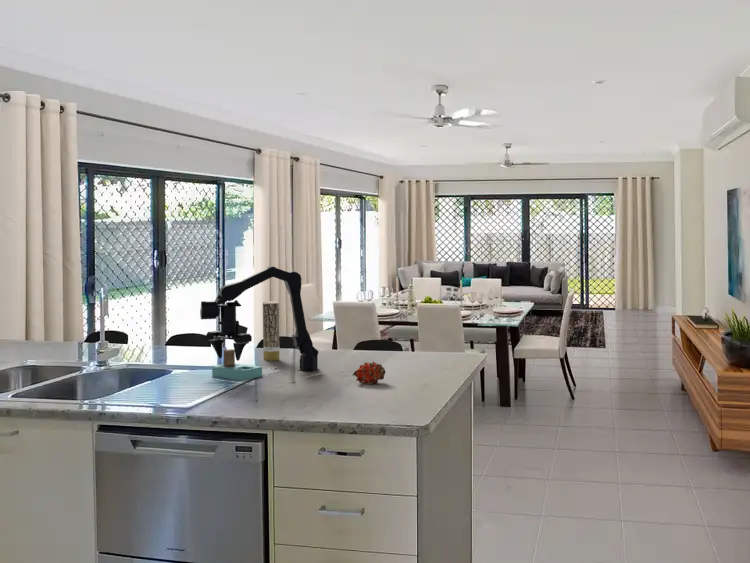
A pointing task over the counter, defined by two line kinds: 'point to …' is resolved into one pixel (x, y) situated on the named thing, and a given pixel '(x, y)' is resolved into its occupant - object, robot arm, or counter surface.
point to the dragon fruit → (370, 373)
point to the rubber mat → (268, 371)
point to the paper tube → (271, 330)
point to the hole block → (237, 371)
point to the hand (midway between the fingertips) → (229, 359)
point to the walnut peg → (229, 358)
